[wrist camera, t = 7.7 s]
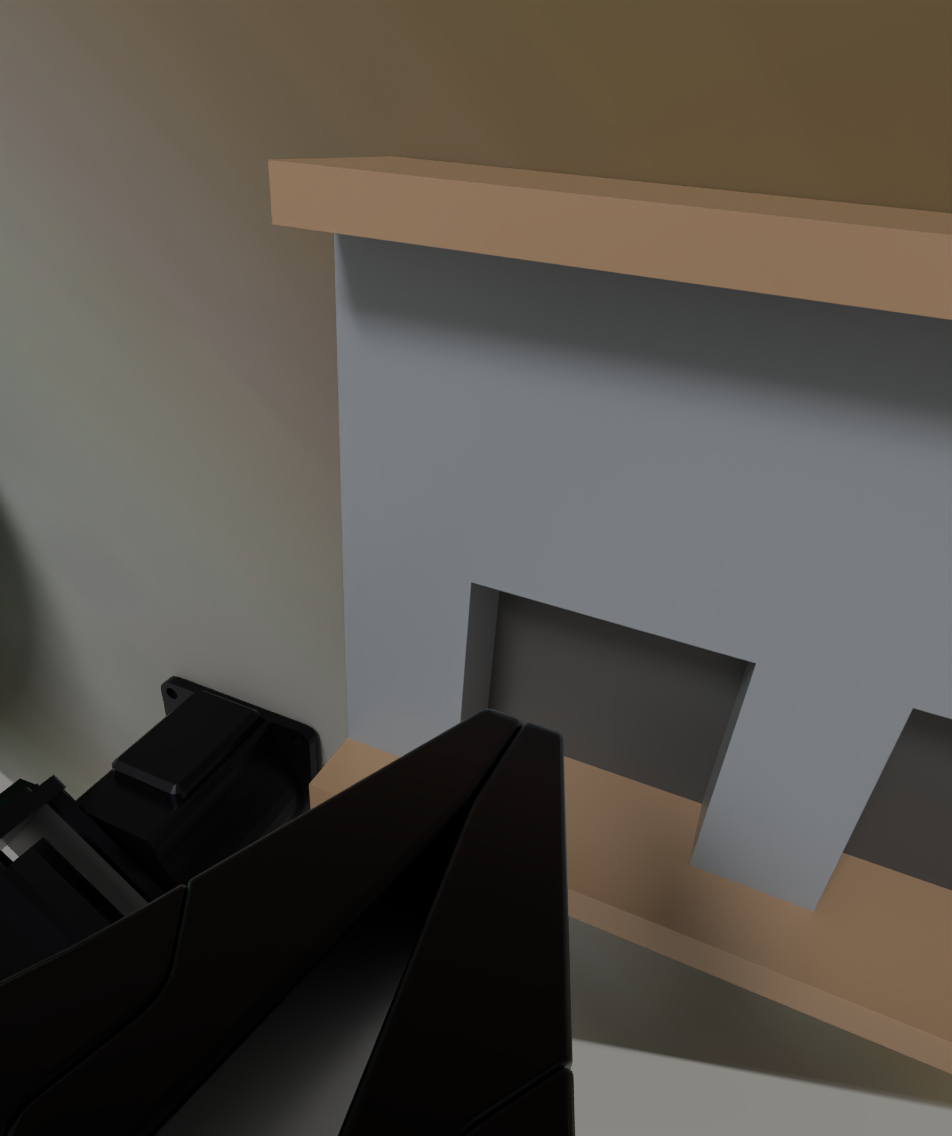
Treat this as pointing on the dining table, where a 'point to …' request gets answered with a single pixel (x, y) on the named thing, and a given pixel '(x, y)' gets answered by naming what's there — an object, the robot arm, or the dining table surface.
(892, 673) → the box
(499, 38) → the dining table surface
